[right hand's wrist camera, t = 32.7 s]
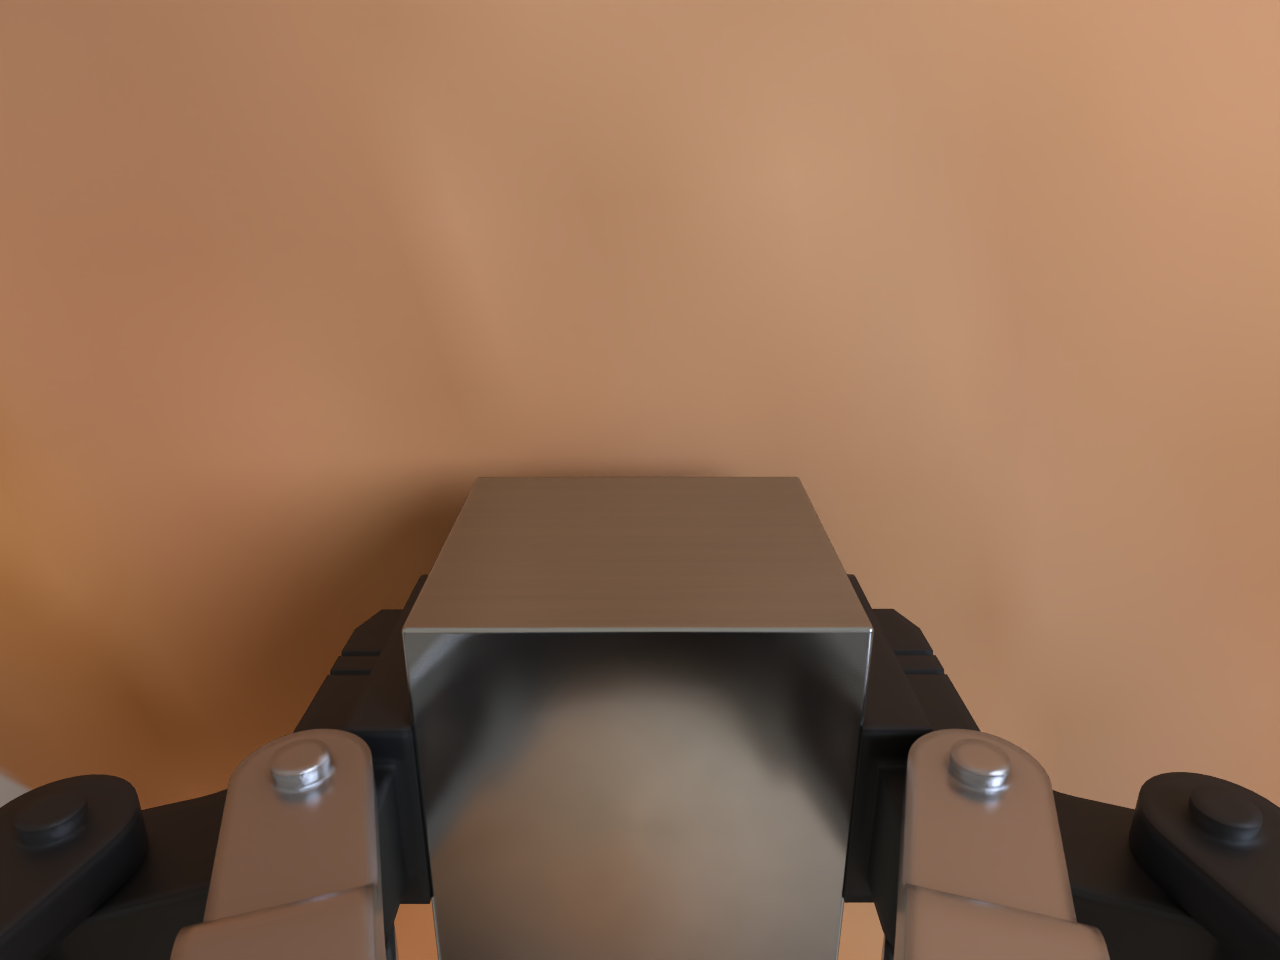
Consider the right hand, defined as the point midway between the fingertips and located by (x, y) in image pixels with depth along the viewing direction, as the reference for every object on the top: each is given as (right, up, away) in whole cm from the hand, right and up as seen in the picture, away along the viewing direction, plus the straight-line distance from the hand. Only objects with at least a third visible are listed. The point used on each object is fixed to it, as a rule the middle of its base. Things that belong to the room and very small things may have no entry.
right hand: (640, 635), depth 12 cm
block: (0, 0, +1) cm, 1 cm away
